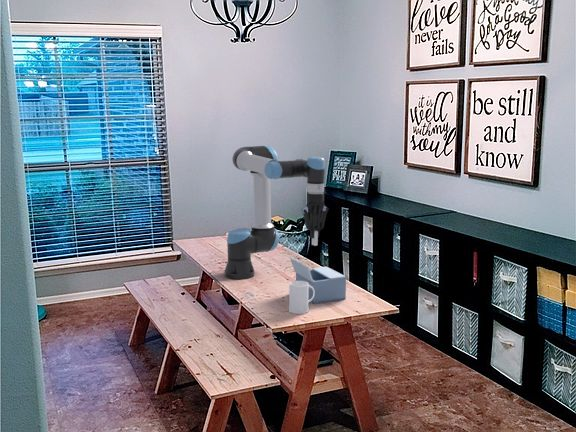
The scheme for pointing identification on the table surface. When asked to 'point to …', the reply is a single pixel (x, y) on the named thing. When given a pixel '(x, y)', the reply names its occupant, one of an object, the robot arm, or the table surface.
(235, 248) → the robot arm
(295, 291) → the mug
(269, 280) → the table surface
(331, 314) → the table surface
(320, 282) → the box
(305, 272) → the flap left
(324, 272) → the flap right
